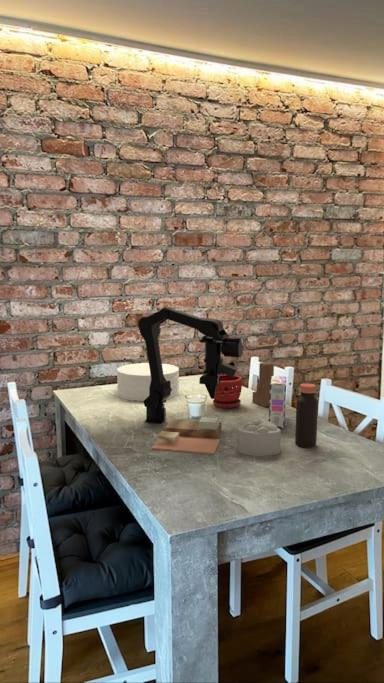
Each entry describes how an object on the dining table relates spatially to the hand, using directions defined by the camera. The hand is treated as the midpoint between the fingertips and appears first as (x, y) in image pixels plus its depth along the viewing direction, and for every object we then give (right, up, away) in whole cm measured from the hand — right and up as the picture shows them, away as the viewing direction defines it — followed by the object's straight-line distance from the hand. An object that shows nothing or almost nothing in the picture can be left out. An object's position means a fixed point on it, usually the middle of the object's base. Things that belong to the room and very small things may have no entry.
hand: (212, 398), depth 179 cm
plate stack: (-27, -4, +51) cm, 58 cm away
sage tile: (-1, -9, -6) cm, 11 cm away
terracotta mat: (-9, -13, -15) cm, 22 cm away
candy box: (+25, -10, +9) cm, 28 cm away
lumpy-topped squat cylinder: (+14, -14, -19) cm, 27 cm away
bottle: (+30, -14, -14) cm, 36 cm away
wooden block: (+23, -6, +34) cm, 41 cm away
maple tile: (-15, -10, -14) cm, 23 cm away
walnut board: (-7, -12, -4) cm, 14 cm away
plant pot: (+7, -7, +32) cm, 33 cm away
